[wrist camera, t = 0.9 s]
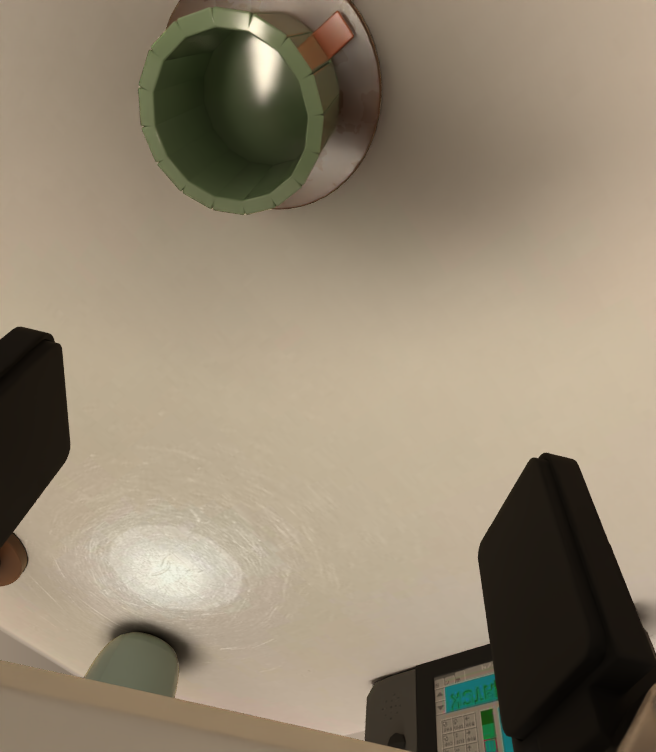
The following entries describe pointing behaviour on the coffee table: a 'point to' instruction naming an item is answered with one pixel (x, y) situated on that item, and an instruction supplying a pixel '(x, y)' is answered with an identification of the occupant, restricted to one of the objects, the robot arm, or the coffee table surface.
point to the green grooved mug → (241, 104)
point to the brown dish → (356, 80)
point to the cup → (137, 664)
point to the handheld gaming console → (441, 707)
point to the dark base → (12, 560)
